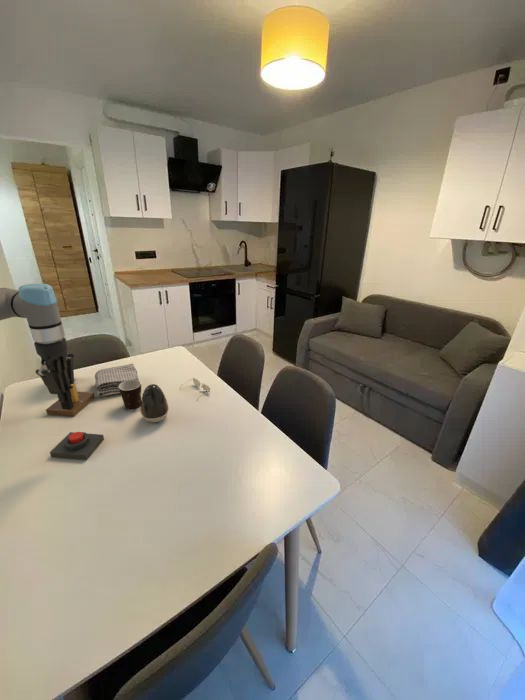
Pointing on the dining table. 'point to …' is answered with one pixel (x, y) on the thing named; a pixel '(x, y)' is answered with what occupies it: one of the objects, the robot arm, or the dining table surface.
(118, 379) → the towel
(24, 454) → the dining table surface
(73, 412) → the plate
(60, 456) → the doorbell
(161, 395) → the dark egg shape
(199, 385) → the eyeglasses
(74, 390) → the thumb turn
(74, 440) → the bell button
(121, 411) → the dining table surface
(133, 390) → the coffee mug
